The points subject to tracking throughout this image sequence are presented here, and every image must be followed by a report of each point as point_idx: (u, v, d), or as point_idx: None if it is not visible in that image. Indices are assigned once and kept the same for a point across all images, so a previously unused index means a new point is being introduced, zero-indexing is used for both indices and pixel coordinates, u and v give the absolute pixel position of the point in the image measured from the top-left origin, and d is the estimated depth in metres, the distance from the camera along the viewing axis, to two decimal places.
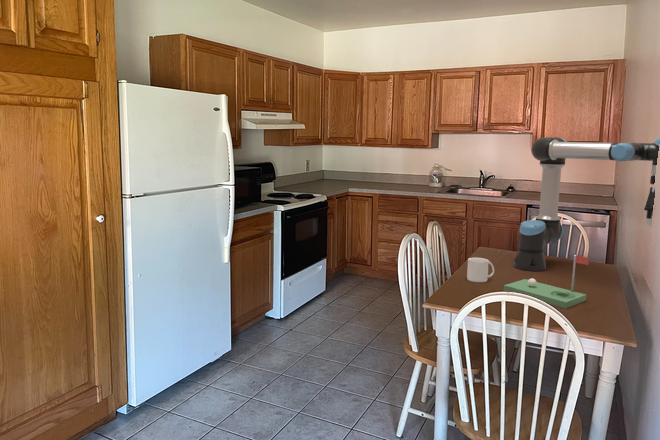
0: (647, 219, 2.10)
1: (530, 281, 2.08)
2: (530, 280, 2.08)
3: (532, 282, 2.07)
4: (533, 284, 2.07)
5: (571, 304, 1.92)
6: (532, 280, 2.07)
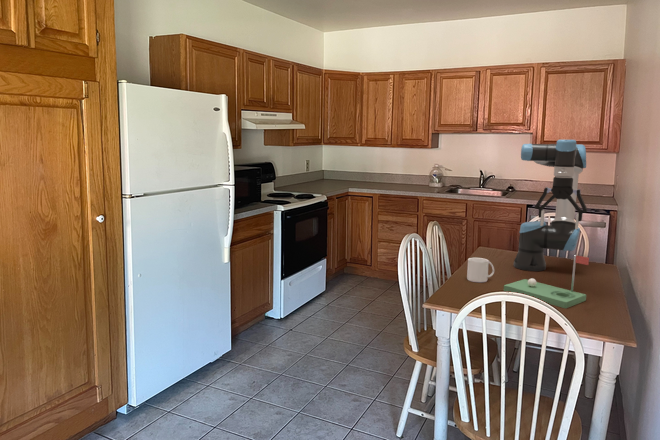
0: None
1: (530, 281, 2.08)
2: (530, 280, 2.08)
3: (532, 282, 2.07)
4: (533, 284, 2.07)
5: (571, 304, 1.92)
6: (532, 280, 2.07)
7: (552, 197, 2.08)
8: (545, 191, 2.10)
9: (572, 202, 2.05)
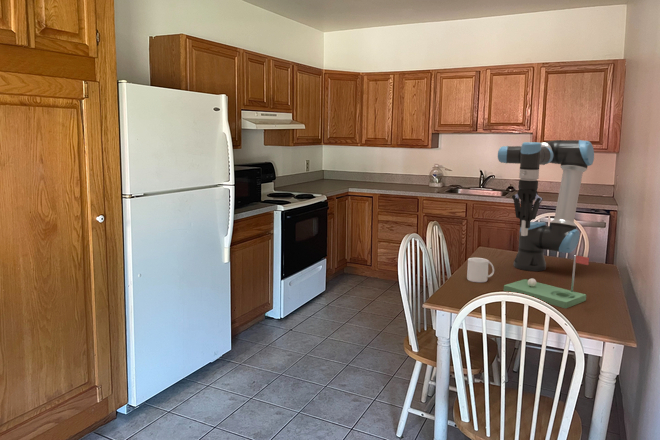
0: None
1: (530, 281, 2.08)
2: (530, 280, 2.08)
3: (532, 282, 2.07)
4: (533, 284, 2.07)
5: (571, 304, 1.92)
6: (532, 280, 2.07)
7: (521, 202, 2.07)
8: (514, 198, 2.10)
9: (527, 207, 2.06)
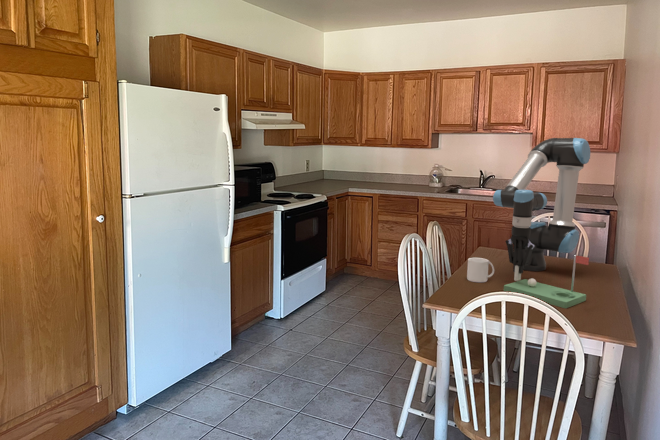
0: None
1: (530, 281, 2.08)
2: (530, 280, 2.08)
3: (532, 282, 2.07)
4: (533, 284, 2.07)
5: (571, 304, 1.92)
6: (532, 280, 2.07)
7: (514, 248, 2.12)
8: (507, 243, 2.15)
9: (520, 253, 2.10)
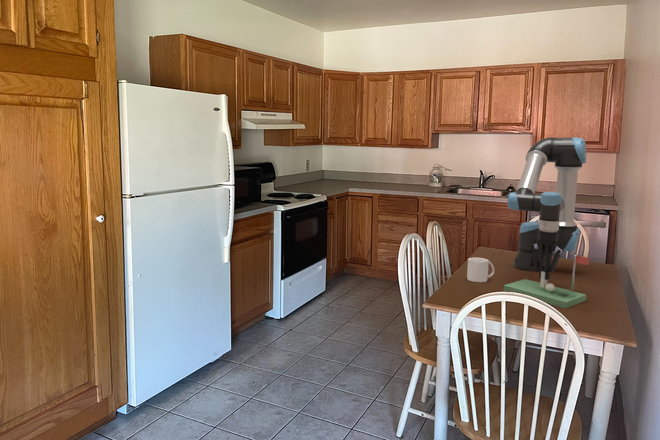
0: None
1: (546, 287, 2.02)
2: (545, 287, 2.02)
3: (546, 285, 2.02)
4: (549, 284, 2.01)
5: (571, 304, 1.92)
6: None
7: (541, 253, 2.02)
8: (533, 248, 2.05)
9: (547, 258, 2.01)
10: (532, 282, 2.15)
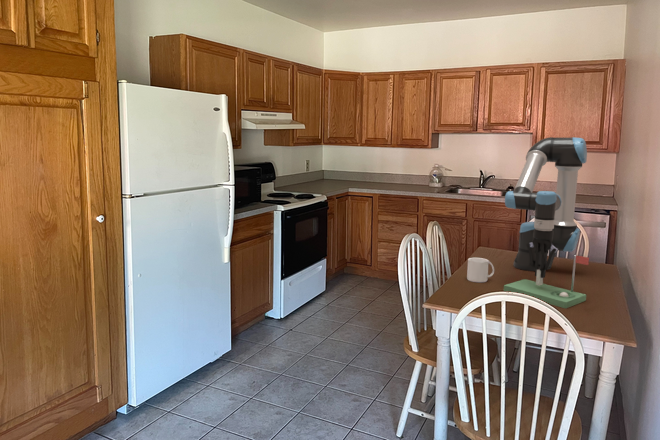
0: None
1: (564, 295, 1.97)
2: (565, 296, 1.97)
3: (563, 296, 1.97)
4: None
5: (571, 304, 1.92)
6: None
7: (536, 251, 2.04)
8: (529, 247, 2.07)
9: (542, 257, 2.03)
10: (532, 282, 2.15)
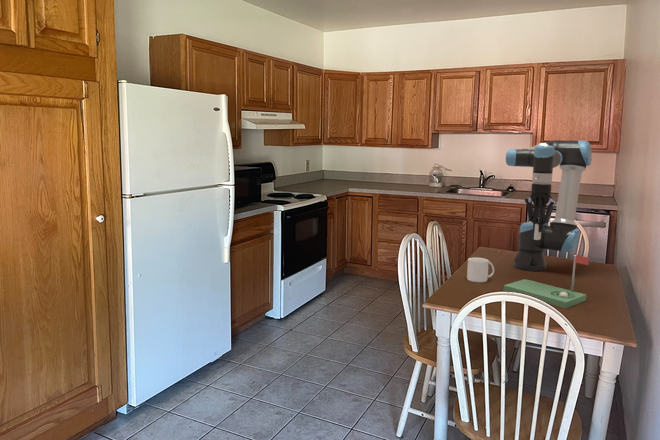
0: None
1: (564, 294, 1.98)
2: (565, 295, 1.98)
3: (562, 295, 1.98)
4: (560, 295, 1.99)
5: (571, 304, 1.92)
6: (564, 296, 1.97)
7: (534, 205, 2.06)
8: (527, 202, 2.09)
9: (540, 211, 2.05)
10: (532, 282, 2.15)
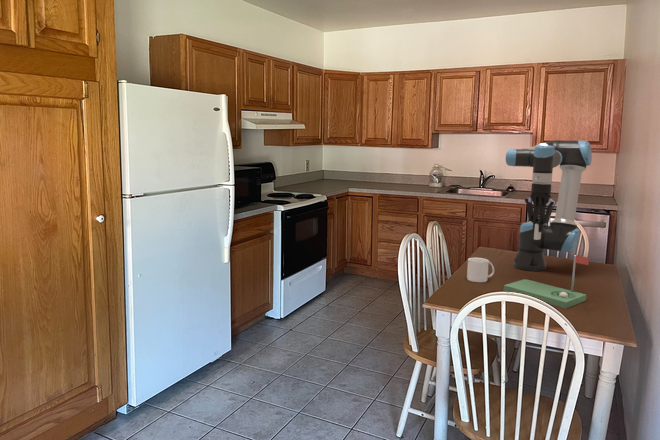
0: None
1: (564, 294, 1.98)
2: (565, 295, 1.97)
3: (562, 295, 1.98)
4: (559, 295, 1.99)
5: (571, 304, 1.92)
6: None
7: (534, 205, 2.06)
8: (527, 202, 2.09)
9: (540, 211, 2.05)
10: (532, 282, 2.15)
